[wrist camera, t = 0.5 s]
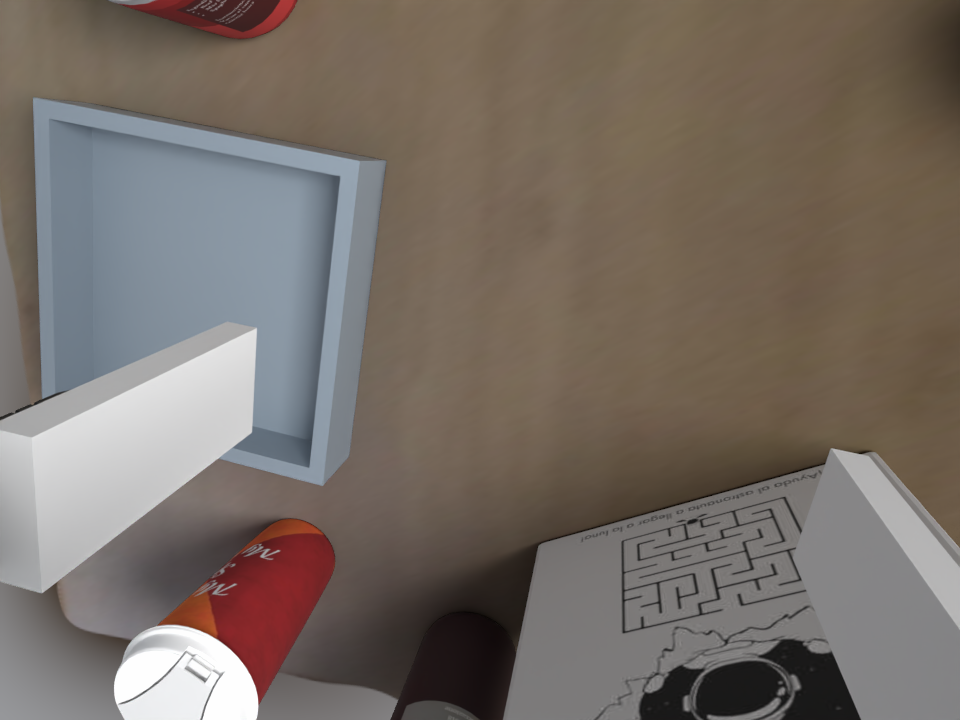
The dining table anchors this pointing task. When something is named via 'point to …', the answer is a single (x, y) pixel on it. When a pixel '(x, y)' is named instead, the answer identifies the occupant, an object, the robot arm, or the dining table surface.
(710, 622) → the cereal box
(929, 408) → the dining table surface
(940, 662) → the robot arm
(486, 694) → the wine bottle
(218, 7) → the canned food
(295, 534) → the coffee cup
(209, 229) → the bin
